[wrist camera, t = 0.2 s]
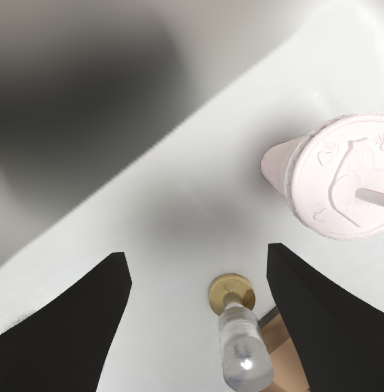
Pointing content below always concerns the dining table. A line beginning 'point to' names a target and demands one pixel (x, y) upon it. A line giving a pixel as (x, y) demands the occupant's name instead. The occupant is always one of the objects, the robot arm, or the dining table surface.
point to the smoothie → (333, 176)
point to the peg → (240, 335)
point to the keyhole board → (282, 356)
